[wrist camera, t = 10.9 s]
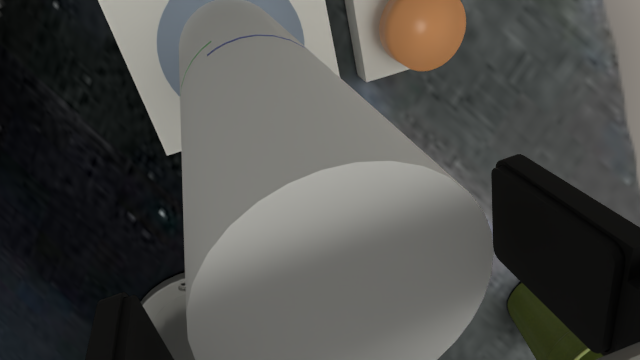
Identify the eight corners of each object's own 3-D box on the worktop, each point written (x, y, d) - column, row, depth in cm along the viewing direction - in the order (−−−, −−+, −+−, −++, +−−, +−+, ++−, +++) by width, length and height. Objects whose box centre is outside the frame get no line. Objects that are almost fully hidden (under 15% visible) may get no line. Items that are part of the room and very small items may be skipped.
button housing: (439, 49, 36) (452, 55, 34) (357, 75, 35) (366, 82, 33) (432, -47, 32) (447, -46, 31) (340, -22, 32) (350, -19, 30)
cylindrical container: (299, 76, 33) (513, 325, 12) (211, 119, 33) (275, 451, 12) (256, -22, 30) (459, 97, 8) (157, 27, 29) (110, 273, 8)
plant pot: (493, 268, 50) (569, 347, 40) (585, 244, 52) (676, 314, 43) (482, 343, 56) (545, 427, 46) (564, 318, 58) (640, 394, 49)
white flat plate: (342, 98, 36) (344, 100, 35) (167, 153, 34) (166, 156, 34) (309, -73, 30) (311, -73, 29) (91, -17, 28) (90, -16, 27)
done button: (452, 52, 32) (467, 58, 31) (384, 72, 32) (396, 80, 30) (447, -26, 30) (464, -24, 28) (373, -5, 29) (386, -1, 27)
